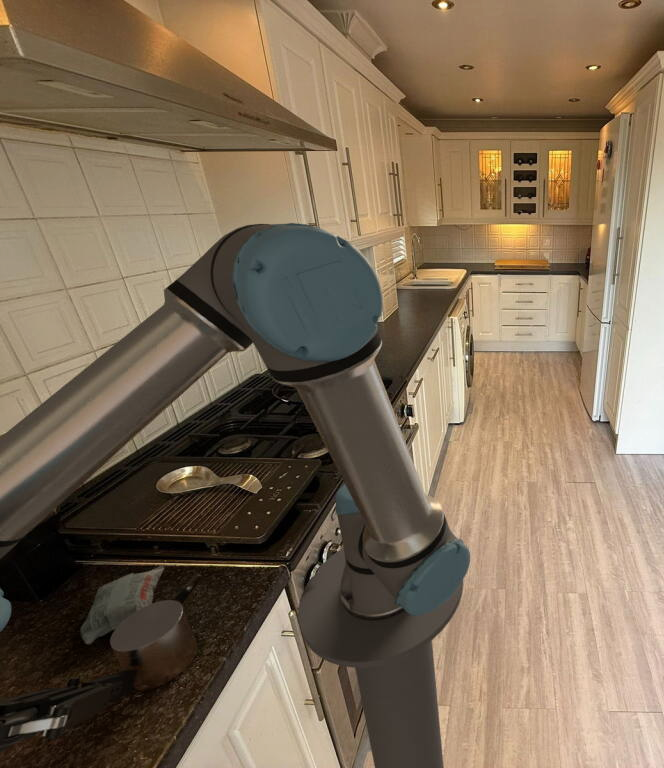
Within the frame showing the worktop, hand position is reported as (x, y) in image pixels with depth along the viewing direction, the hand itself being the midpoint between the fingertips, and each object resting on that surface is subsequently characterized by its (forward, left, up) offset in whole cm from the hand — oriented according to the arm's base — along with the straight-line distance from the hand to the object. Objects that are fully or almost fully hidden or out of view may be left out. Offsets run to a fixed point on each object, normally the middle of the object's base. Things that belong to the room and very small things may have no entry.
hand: (128, 681), depth 55 cm
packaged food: (+12, -15, -4) cm, 19 cm away
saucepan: (0, -9, -4) cm, 9 cm away
